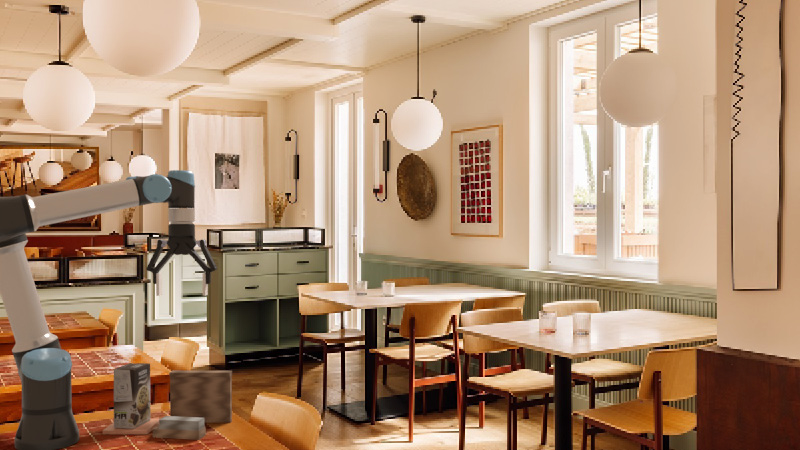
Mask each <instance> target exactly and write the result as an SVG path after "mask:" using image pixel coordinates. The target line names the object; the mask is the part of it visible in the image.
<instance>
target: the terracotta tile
mask: <svg viewBox="0 0 800 450" xmlns="http://www.w3.org/2000/svg"><path fill="white" fill-rule="evenodd" d="M159 419H161V418H159V417H158V418H155V417H154V418H152V417H150V421H148V422H146V423H145V424H143V425H141V426H139V427H137V428H135V429H125V428H114V422H112V423H111V424H109V425H108V426H107V427H105V428H104V429H103V430H102V435H149V433H151V432H153V428H155V427H157V426H159Z"/></svg>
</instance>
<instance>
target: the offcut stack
mask: <svg viewBox="0 0 800 450" xmlns="http://www.w3.org/2000/svg"><path fill="white" fill-rule="evenodd" d="M206 429H207V428H206V426H205V422H204V418H200V417H178V416H170V415H165V416H163V417H161V418H160V419H159V425H158V426H157V427H155V428H153V430H152V438H155V437H156V439H158V438H159V439H177V440H178V439H179V440H193V441H194V440H195V441H200V440H201V439H202V438H205V437H206V435H207V434H206V433H207V431H206Z"/></svg>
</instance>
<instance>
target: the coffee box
mask: <svg viewBox="0 0 800 450" xmlns="http://www.w3.org/2000/svg"><path fill="white" fill-rule="evenodd" d="M150 418H151V363H146V362H143V363H142V362H140V363H139V362H137V363H136V362H135V363H133V362H131V363H127V364H124V365H122V366H119V367H115V368H113V423H114V428H125V429H135V428H137V427H139V426H141V425H143V424H145V423H146V422H148V421H150Z"/></svg>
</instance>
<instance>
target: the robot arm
mask: <svg viewBox="0 0 800 450" xmlns="http://www.w3.org/2000/svg"><path fill="white" fill-rule="evenodd" d="M195 183H196V182H195V174H194V172H193V171H191V170H184V169H182V170H181V169H179V170H178V169H177V170H169V171H168V172H167V175H166V176H165V175H162V174H158V173H155V174H150V175H145V176H138V175H136V176H127V177H126V178H125V179H124V180H119V181H114V182H113V181H112V182H109V183H107V182H106V183H103V184H96V185H92V186H86V187H82V188H81V187H80V188H76V189H70V190H69V189H68V190H64V191H58V192H54V193H49V194H43V195H39V196H38V195H37V196H30V195H29V194H22V195H16V196H15V195H14V196H0V297H1V300H2V303H3V306H4V309H5V313H6V316H7V319H8V323H9V325H10V328H11V331H12V334H13V338H14V341H15V344H14V345H13V348H12V349H11V352H12V355H13V359H14V361H15V366H16V367H17V372H18V376H19V379H20V383H21V418H20V421H19V424H18V427H17V429H16V432H15V436H14V448H15V449H16V450H59V449H65V448H68V447H70V446H72V445H75V444H77V443H78V442H79V441H80V430H79V427H78V423H77V421H76V419H75V416H74V414H73V409H72V404H73V403H72V401H73V400H72V398H73V397H72V396H73V395H72V394H73V393H72V368H73V361H72V357H71V354H70V352H68V351H67V350H65V349H62V346H61V343H60V341H59V337H58V336H57V335H56V334H53V333H52V332H50V329H49V326H48V323H47V319H46V316H45V313H44V309H43V306H42V303H41V300H40V297H39V293H38V290H37V287H36V284H35V280H34V277H33V275H32V274H33V273H32V271H31V268H30V265H29V261H28V257H27V254H26V252H25V246H26V245H27V243H28V242H29V240H28V237H27V234H28V233H33V232H36V231H37V230H38V229H39V228H40V227H43V226H47V225H53V224H57V223H63V222H66V221H67V222H68V221H72V220H77V219H81V218H86V217H92V216H96V215H101V214H106V213H111V212H115V211H120V210H126V209H129V208H135V207H139V206H145V205H151V204H159V203H160V204H161V203H163V204H164V203H165V204H167V205H168V206H167V207H168V209H167V213H168V215H167V216H168V217H167V220H168V223H169V224H168V230H167V232H168V233H167V234H168V238H167V240H164V239H163V238H162V239H158V240H156V241H157V242H156V248H155V250H154V252H153V254H152V255H151V258H150V260H149V262H148V264H147V267H146V271H147V272H150V273H152V283H153V285H156V286H155V290H156V293H155V294H156V297H157V296H159V297H160V296H162V295H163V273H162V272H161V270H162V269H163V268H164V267H165V265H166V264H167V263H168V262H169V260H170V259H171V258H172V257H173V256H174V255H175V256H179V255H183V256H186V255H190V257H192V258H193V259H194V261H195V262H196V263H197V264H198V266H200V268H201V269H202V270H203V271H204V272H203V273H202V296H208V291H209V290H208V289H209V287H208V285H210V284H211V282H212V272H215V271H218V267H217V266H218V265H217V264H216V262H215V261H214V258H213V257H212V254H211V252H210V251H209V249H208V247H207V241H206V239H205V238H204V239H200V240H196V225H195V224H194V222H195V221H196V220H195V219H196V218H195V217H196V216H195V215H196V214H195V213H196V211H195V210H196V208H195V199H196V198H195V192H196V185H195ZM166 245H167V246H168V248H169V250H167V251H166V253H165V254H164V256H163V257H162V258H161V260H159V258H160V256H161V254H162V251H163V250H164V248H165V247H166ZM196 246H198V248H200V250H201V252H202V255H204V256H203V257H204V258H205V260H206V262H207V263H206V262H205V260H204V259H203V258H202V257H201V256H200V255H199V253H198V252H197V250H196V249H195V247H196ZM158 260H159V262H158ZM157 262H158V263H157Z"/></svg>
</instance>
